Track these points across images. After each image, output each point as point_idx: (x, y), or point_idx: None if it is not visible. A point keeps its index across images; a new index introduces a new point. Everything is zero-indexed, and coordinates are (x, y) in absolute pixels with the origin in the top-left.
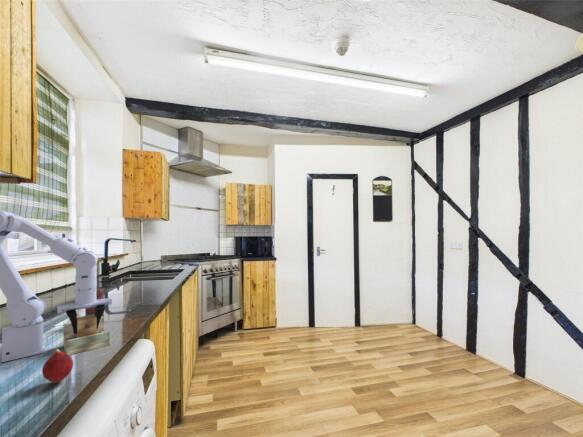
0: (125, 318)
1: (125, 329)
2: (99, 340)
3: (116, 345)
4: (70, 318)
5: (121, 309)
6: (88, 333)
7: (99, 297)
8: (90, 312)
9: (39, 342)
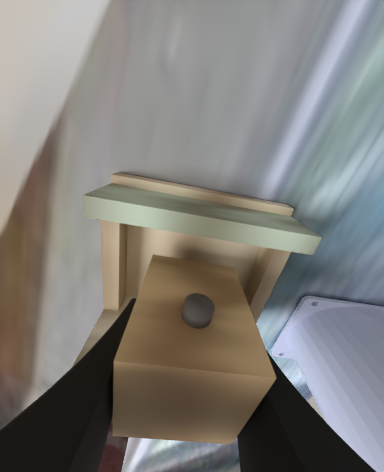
0: (23, 391)
1: (30, 306)
2: (156, 195)
3: (92, 131)
4: (341, 443)
5: None
6: (189, 275)
7: None
8: (108, 461)
9: (333, 340)
